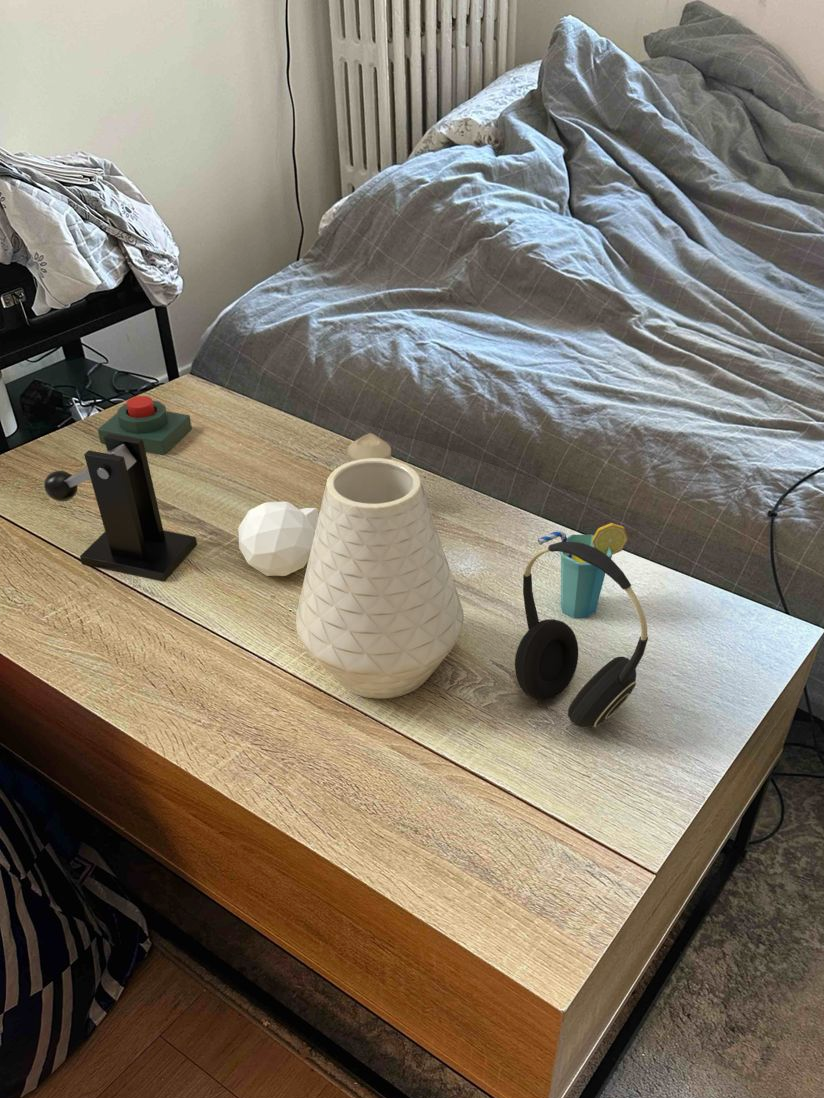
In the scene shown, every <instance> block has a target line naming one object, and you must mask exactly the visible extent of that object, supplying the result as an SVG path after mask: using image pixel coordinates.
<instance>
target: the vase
mask: <svg viewBox="0 0 824 1098" xmlns="http://www.w3.org/2000/svg"><path fill="white" fill-rule="evenodd" d="M318 515H319V517H318V522H317V526H316V530H314V539H313V543H312V548H311V552H310V556H309V560H308V561H307V564H306V566H307V567H306V570H305V574H304V579H303V583H302V586H301V591H300V596H299V599H298V605H297V608H296V613H295V630H296V633H297V637H298V640H300V643H301V645H302V646H303V648H304V649H305V650H306V651H307V653H308V654H309V655H310V656H311V657H312V658H313V659H314V660H315V661H316V662H317V663H318V664H319V665H320V666H321V667H322V668H323V669H324V670H325V672H327V674H329V676H330V677H332V678H333V679H334V680H335V681H336V682H337V683H338V684H339V685H340V686H341V687H342V688H343V689H345V690H346V691H348V692H350V693H352V694H354V695H356V696H360V697H363V698H369V699H377V700H379V699H380V700H381V699H384V700H385V699H393V698H398V697H402V696H405V695H408V694H410V693H412V692H414V691H416V690H417V689H419V688H420V687H421V686H423V685H424V683H426V682H427V680H428V679H429V678H430V677H431V675H432V674H433V673H434V672H435V670H436V669H437V668H438V667H439V665H441V663H442V662H443V661H444V659H445V658H446V657H447V656H448V654H449V653H450V652H451V651H452V650H453V648H454V647H455V646H456V644H457V642H458V641H459V639H460V637H461V636H462V635H461V634H462V631H463V628H464V623H465V622H464V621H465V616H464V608H463V604H462V601H461V599H460V598H461V597H460V596H459V592H458V590H457V586H456V583H455V580H454V577H453V574H452V572H451V568H450V565H449V561H448V559H447V556H446V553H445V550H444V546H443V544H442V541H441V537H440V534H439V532H438V528H437V524H436V522H435V520H434V516H433V513H432V509H431V507H430V504H429V501H428V498H427V494H426V492H425V489H424V485H423V482H422V479H421V477H420V475H419V473H418V472H417V471H416V470H415V469H414V468H412V466H409V465H407V464H406V463H404V462H401V461H398V460H394V459H391V460H390V459H383V458H367V459H359V460H355V461H351V462H348V461H347V462H345V463H344V464H343V463H342V464H341V465H339V466H338V467H336V468H335V469H334V470H333V471H332V472H331V473H330V474H329V475H328V477H327V479H326V483H325V488H324V491H323V496H322V501H321V505H320V510H319V512H318Z"/></svg>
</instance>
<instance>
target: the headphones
mask: <svg viewBox="0 0 824 1098" xmlns="http://www.w3.org/2000/svg"><path fill="white" fill-rule="evenodd" d="M548 552H551V553H553V552H559V553H560V552H565V553H569V554H572V555H574V556H576V557H578V558H580V559H581V560H583V561H585V562H587V563H589V564H592V565H594V566H596V567H597V568H599V569H601V570H602V571H603V572H604V573H605V575H607V576H609V578H611V579H612V580H613V581H614V582H615V583H616V584H617V585H618V586H619V587H620V588H621V589H622V590H624V591H625V592H626V594H627V596H628V597H629V598H630V601H631V602H632V604H633V606H634V609H635V611H636V613H637V616H638V619H639V623H640V630H641V631H640V632H641V633H640V636H639V638H638V641H637V643H636V647H635V649H634V651H633V654H632V655H631V657H630V659H629V658H628V657H625V656H616V657H614V658H613V659H612V660H610V661H608V662H607V663H606V664H605V665H604V666H602V667H601V668H600V669H599V670H598V671H597V672H596V673H595V674H594V675H593V676H592V677H591V678H590V679H589V680H588V681H587V682H586V683H585V685H584V686H583V687H582V688H581V689H580V690H579V691H578V693H577V694H576V696H575V697H574V698H573V700H572V701H571V703H570V705H569V706H568V709H567V717H568V718H569V721H570V722H571V723H572V724H573V725H574V726H576V727H578V728H583V729H584V728H585V729H586V728H592V727H594V728H596V727H599V726H600V725H602V724H603V723H604V722H606V721H607V720H608V719H609V718H610V717H612V716H613V715H614V714H615V713H616V712H617V711H618V710H619V709H620V708H621V706H622V705H623V704H624V703H626V701H627V700H628V698H629V697H630V695H631V694H632V692H633V690H634V689H635V687H636V685H637V668H638V666H639V664H640V662H641V660H642V658H643V657H644V654H645V650H646V647H647V644H648V640H649V637H648V623H647V618H646V616H645V612H644V608H643V606H642V605H641V602H640V600H639V598H638V597H637V594H636V593H635V592H634V589H633V588H632V583H631V582H630V581H629V579H628V578H627V575H626V574H625V572H624V571H623V570H622V569H621V568H620V567H619V566H618V565H617V563H616V562H615V561H614V560H612V558H611V559H610V558H609V557H608V556H607V555H606V554H604V553H603V552H602V551H600V550H598V549H597V548H595V547H592V546H589V545H586V544H584V543H579V542H562V541H558V542H555V543H552V544H549V545H548V546H547V547H545V548H542V549H541V550H538V551H537V552H536V553H535V554H534V555H533V556H532V557H530V559H529V561H528V563H527V565H526V567H525V570H524V574H523V575H522V594H523V595H522V596H523V602H524V603H523V604H524V612H525V618H526V623H527V628H528V630H527V631H526V633H524V635H523V637H522V638H521V639H520V641H519V642H518V645H517V647H516V651H515V653H514V654H515V655H514V673H515V677H516V681H517V685H518V686H519V688H520V690H521V691H522V692H523V694H524V695H526V696H527V697H529V698H530V699H534V700H537V701H541V702H542V701H543V702H544V701H550V700H554V699H555V698H557V697H559V696H560V695H561V694H562V693H563V692H565V690H566V689H567V688H568V687H569V685H570V684H571V682H572V680H573V678H574V677H575V673H576V670H577V667H578V663H579V644H578V639H577V637H576V634H575V632H574V630H573V629H572V627H570V626H569V625H568V624H567V623H565V622H564V621H561V620H559V619H554V618H549V619H548V618H547V619H543V620H540V619H539V615H538V611H537V610H538V609H537V607H536V602H535V597H534V593H533V591H534V590H533V579H532V578H533V577H532V575H533V574H532V573H531V572H532V568H533V566H534V563H535V562H536V561H537V559H538V558H539V557H541V556H542V555H544V554H546V553H548Z"/></svg>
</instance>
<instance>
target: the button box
mask: <svg viewBox="0 0 824 1098" xmlns="http://www.w3.org/2000/svg"><path fill="white" fill-rule="evenodd" d="M153 403H154V408H155V413H154V414H153V415H151V416H148V417H143V418H135V417H130V416H129V413H128V409H127V405H126V403H124V404H123V405H121V406H120V407H119V408H117V412H116V413H115V414H114V415H113V416H111V417H110V418H109V419H107V421H105V422H104V423H103V424H102V425H100V426H99V427H98V428H97V434H98V438H99V441H100V444H102V445H103V444H104V445H106V444H105V440H104V437H105V436H106V435H107V434H108V433H109V434H115V435H120V436H126V437H131V438H137V439H142V440H143V443H144V447H145V451H146V453H152V454H157V455H162V456H165V455H166V454H167V453H169V451H171V449H172V448H174V447H175V446H176V445H177V444H178V443H179V442H180V441H181V440H182V439H183V438H184V437H186V435H187V434H188V433H189V432H191V430H192V429H193V426H192V422H191V416H190V414H185V413H181V412H179V413H178V412H173V411H167V407H166V405H165V404H163V403H161V402H160V401H159V400H153Z"/></svg>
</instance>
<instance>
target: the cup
mask: <svg viewBox="0 0 824 1098" xmlns="http://www.w3.org/2000/svg"><path fill="white" fill-rule="evenodd" d="M557 538H560V540H561V542H579V543H584V544H586V545H589V546H592V547H595V548H597V549H598V550H600V551H602V552H603V553H604V554H606V555H607V556H608V557H609V558H610V559H612V558H613V556H614V555H615V554H618V553H620V552H622V551H623V549H624V548H625V546H626V544H627V542H628V541H629V538H628V535H627V532H626V529H625V527H624V526H623V525H620V524H616V523H613V522H610V523H608V524H605V525H603V526H601V527H597V530H596V532H595V533H594V534H591V533H590V534H588V533H587V534H571V535H570V536H568V537H567V534H566V533H565V532H564V531H562V530H555V531H553V532H550V533H548V534H546V535H544V536H542V537H540V538H537V543H538V544H539V545H540V546H541V545H543V544H545V543H548V542H551V541H552V540H555V539H557ZM559 555H560V606H561V612H562V613H563V614H565V615H567V616H569V617H571V618H572V619H588V618H589V617H591V616H592V615H593V614H594V613H596V612H597V608H598V604H599V599H600V596H601V592H602V589H603V586H604V585H603V584H604V580H605V578H606V577H605V576H606V573H604V572H603V571H602V570H601V569H599V568H597V567H596V566H594V565H592V564H589V563H587V562H585V561H583V560H581V559H580V558H578V557H576V556H574V555H572V554H569V553H565V552H559Z"/></svg>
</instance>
